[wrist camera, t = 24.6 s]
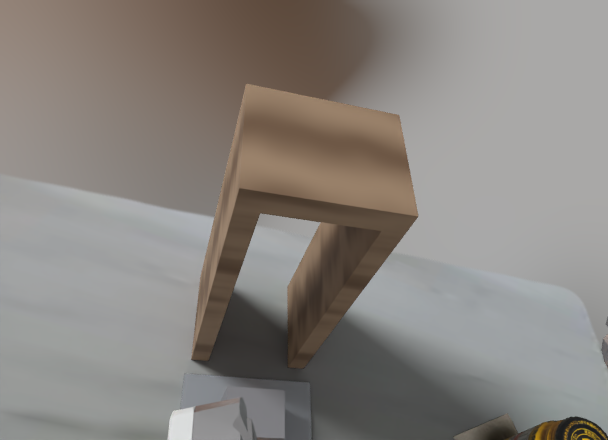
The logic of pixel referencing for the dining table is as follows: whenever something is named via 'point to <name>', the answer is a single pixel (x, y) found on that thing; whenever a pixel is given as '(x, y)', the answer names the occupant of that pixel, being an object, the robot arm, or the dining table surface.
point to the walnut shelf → (308, 208)
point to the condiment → (535, 430)
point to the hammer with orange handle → (262, 410)
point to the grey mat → (213, 387)
